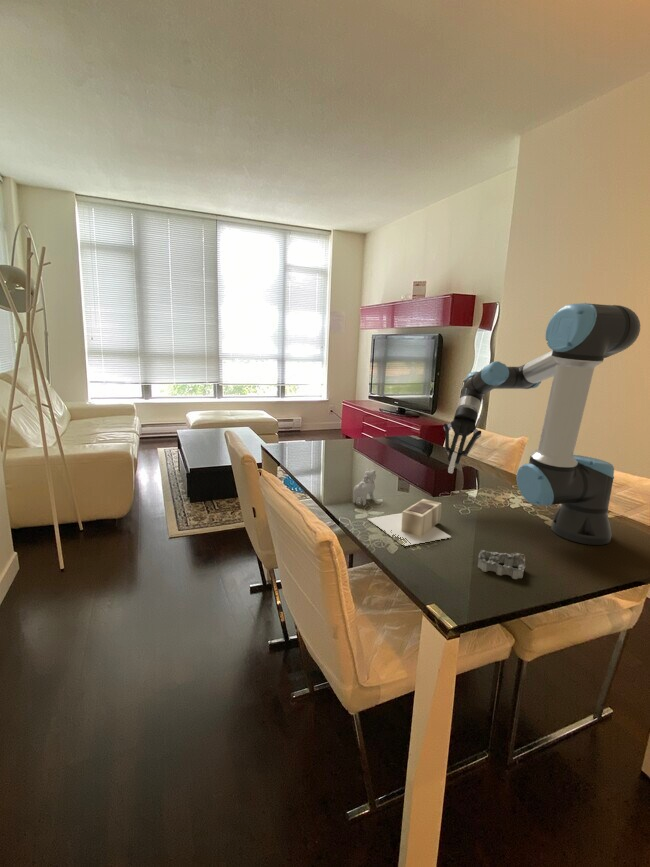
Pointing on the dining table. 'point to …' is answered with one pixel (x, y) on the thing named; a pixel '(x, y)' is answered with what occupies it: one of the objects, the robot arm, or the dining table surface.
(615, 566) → the dining table surface
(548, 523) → the dining table surface
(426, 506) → the birch block
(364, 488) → the dog figurine
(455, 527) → the dining table surface
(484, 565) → the egg carton
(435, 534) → the mat
